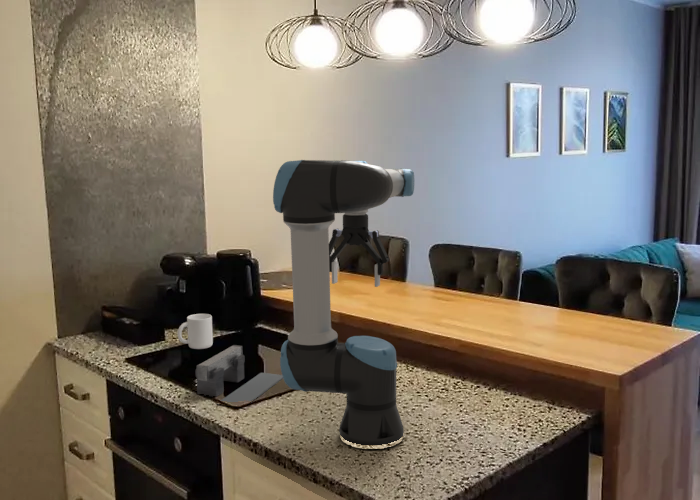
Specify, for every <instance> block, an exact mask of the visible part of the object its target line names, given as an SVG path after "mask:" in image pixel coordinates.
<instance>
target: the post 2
mask: <svg viewBox="0 0 700 500" xmlns="http://www.w3.org/2000/svg"><path fill="white" fill-rule="evenodd" d="M245 358H246V357H245V355H244V354H243V355H240V356H238V357H237V358H235V359H234V365H232V366H231V367H229V368H228V369H226V370H224V375H223V382H229V383H238V384H239V383H240V382H241V381H242V380H244V379H245V362H246V361H245V360H246V359H245Z"/></svg>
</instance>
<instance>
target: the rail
mask: <svg viewBox="0 0 700 500" xmlns="http://www.w3.org/2000/svg"><path fill="white" fill-rule="evenodd" d="M240 355H244V354H243V345H237V344H233V345H231V346H229V347H228V348H226V349H224V350H223V351H220V352H219V353H217V354H215V355H213V356H212V357H210V358H208V359H207V360H205V361H203V362H201V363H199V364H197V365H196V369H197V377H196V381H197V380H201V381H208V380H210V379H211V378H213V371H215V370H217V369H218V368H224V370H226V369H228V368H229V367H231V366H232V365H234V359H235V358H237V357H238V356H240Z"/></svg>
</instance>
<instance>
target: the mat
mask: <svg viewBox="0 0 700 500" xmlns="http://www.w3.org/2000/svg"><path fill="white" fill-rule="evenodd" d="M282 380H284V379H283V376H282V374H278V373H268V372H259V373H258V374H257V375H256V376H254V377H253V378H251V379H249V380H248V381H247V382H246V383H243V384H242V385H241V386H240V387H237V389H235V390H234V391H232V392H231V393H229V394H228V395H226V396H225V397H224V398H222V399H221V400H220V401H227V402H238V401H244V400H246V401H247V400H248V401H252V400H254V399H255V400H257V399H258V398H259V397H261V396H262V395H264V392H265V393H266V392H267V391H268V390H270V389H271V388H273V387H274V386H275V385H276V384H278V383H279V382H281V381H282ZM260 395H261V396H260ZM257 397H258V398H257ZM256 398H257V399H256ZM255 400H254V401H255Z"/></svg>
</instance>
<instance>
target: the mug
mask: <svg viewBox="0 0 700 500" xmlns="http://www.w3.org/2000/svg"><path fill="white" fill-rule="evenodd" d="M185 328H187V339H185V338H183V336H182V335H183V333H182V332H183V330H184V329H185ZM213 336H214V335H213V316H212V315H211V314H209V313H196V314H195V313H194V314H190V315H188V316H187V317H186V321H185V322H183V323H181V325H179V327H178V329H177V338H178V340H179V342H180V343H182V344H188V347H189V348H190V349H192V350H204V349H205V350H206V349H208V348H211V347H212V346H213V343H214V337H213Z"/></svg>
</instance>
